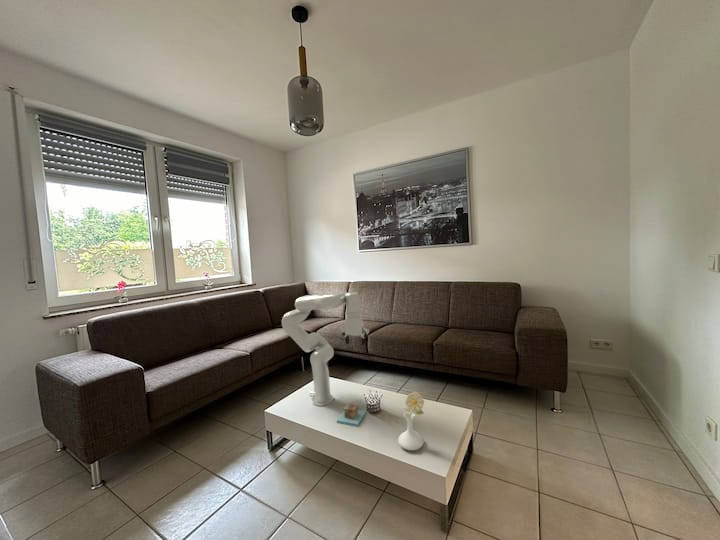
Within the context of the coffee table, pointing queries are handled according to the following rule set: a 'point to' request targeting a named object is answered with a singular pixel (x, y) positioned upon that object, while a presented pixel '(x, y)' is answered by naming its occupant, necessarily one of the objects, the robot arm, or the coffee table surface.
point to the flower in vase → (410, 437)
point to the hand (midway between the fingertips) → (355, 344)
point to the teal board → (351, 421)
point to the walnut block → (351, 411)
